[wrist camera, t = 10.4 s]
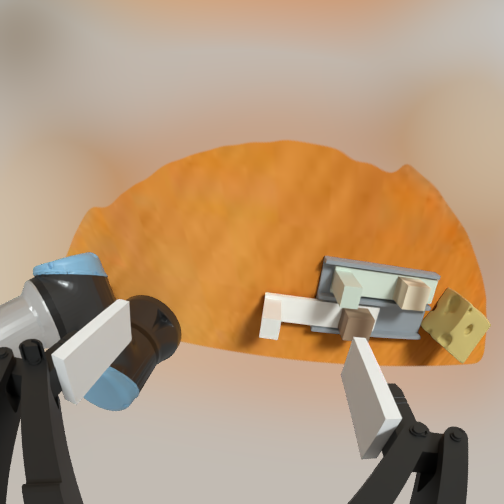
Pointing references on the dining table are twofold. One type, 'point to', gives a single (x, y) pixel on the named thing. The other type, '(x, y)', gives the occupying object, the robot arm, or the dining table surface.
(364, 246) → the dining table surface
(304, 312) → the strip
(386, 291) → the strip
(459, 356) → the cheese
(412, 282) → the maple block
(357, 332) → the walnut block
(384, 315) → the lane board
